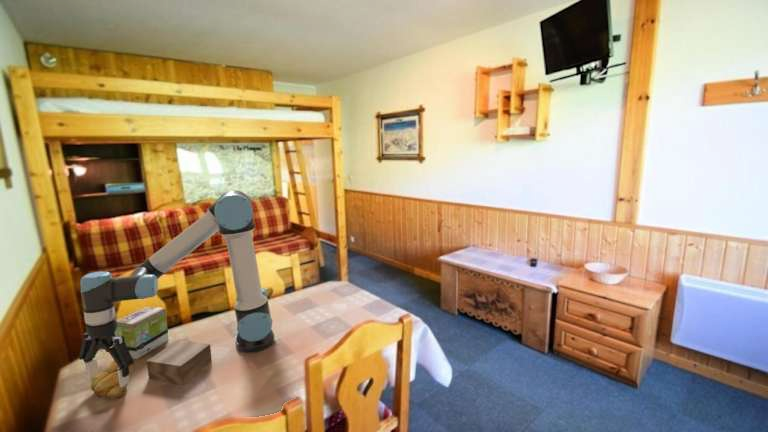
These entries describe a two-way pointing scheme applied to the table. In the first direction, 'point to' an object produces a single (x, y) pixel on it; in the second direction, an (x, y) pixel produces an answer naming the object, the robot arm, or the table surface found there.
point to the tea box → (143, 330)
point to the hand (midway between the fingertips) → (109, 381)
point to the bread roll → (108, 383)
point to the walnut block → (179, 362)
